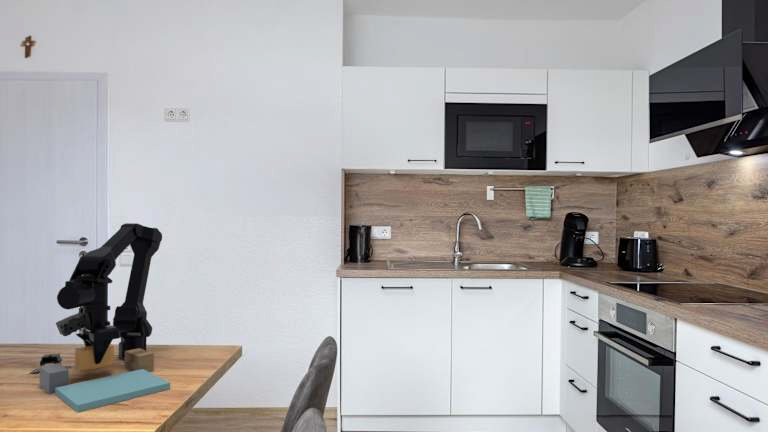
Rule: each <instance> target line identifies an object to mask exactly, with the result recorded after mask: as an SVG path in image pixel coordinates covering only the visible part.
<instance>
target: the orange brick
mask: <svg viewBox="0 0 768 432" xmlns="http://www.w3.org/2000/svg"><path fill="white" fill-rule="evenodd" d="M114 364H115V345H114V344H112V343H110V345H109V347H108V349H107V351H106V353H105V355H104V357H103V359H102V360H101V362H100V364H95V361H94V355H93V348H92V346H87V347H85V346H82V347H76V348H75V349H74V368H75V369H76V370H77V371H79V372H82V371H88V370H93V369H99V368H104V367H108V366H114Z"/></svg>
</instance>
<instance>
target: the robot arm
mask: <svg viewBox="0 0 768 432" xmlns="http://www.w3.org/2000/svg"><path fill="white" fill-rule="evenodd" d="M162 241H163V234H162V232H161V231H160V230H159V229H158V228H157V227H149V226H145V225H142V224H139V223H138V222H137V223H131V222H130V223H129V222H126V223H123V224H121V226H120V228H119V229H118V230H117V231H116V232H115V233H114V234H113V235H112V236H111V237H110V238H109V239H107V241H105V243H104V244H102V245H101V247H99V248H96V249H93V250H90V251H88V252H87V253H85V254H83V255H82V256H80V258H79V260H78V262H77V264H76V266H75V268H74V270H73V272H72V274H71V276H70V278H69V280H67V281H65V282H64V284H65V286H63V287H62V288H61V289H60V290H58V293H57V295H56V299H57V303H58V306H59V307H61V308H62V309H64V310H73V309H76V308H78V312H77V313H75V314H72V315H69V316H67V317H65V318H63V319H61V320H58V321H57V322H55V326H56V327H57V330H58V332H59V334H60V335H62V336H63V337H68V336H70V335H72V333H75V336H76V337H78V338H79V339H81V340H82V341H83V344H84V347H87V346H92V348H93V355H94V361H95V364H100V362H101V360H102V359H103V357H104V355H105V353H106V351H107V349H108V347H109V345H110V344H112V341H113V340H117V339H120V341H119V343H118V355H117V356H118V358H119V359H122V360H124V361H125V351H128V350H133V349H138V348H140V349H143V350H146V351H147V338H148V337H150V336H151V335H152V332H153V326H152V325H151V324H150V322H149V321H148V319H147V317H148V316H147V315H148V313H147V310H146V307H145V305H144V299H145V293H146V288H147V283H148V278H149V272H150V267H151V263H152V262H151V261H152V258H153V256H154V255H155V254H156V253H157V252H158V251H159V249H160V246H161V243H162ZM129 246H130V248H131V251H132V253H133V259H132V263H131V268H130V274H129V279H128V284H127V288H126V289H127V290H126V294H125V299H124V301H123V303H122V304H121V305H119V306H118V305H117V306H116V307H115V311H114V316H113V318H112V324H111V321H109V320H108V317H109V316H108V315H109V311H110V310H111V305H108V301H109V296H108V295H109V284H112V283H113V280H112V278H110V277H109V275H111V274H112V273H113V272H112V271H114V269H115V267H116V265H117V263H116V261H117V259H118V258H119V256H120V255H121V254H122V253H124V251H126V249H127V248H128V247H129ZM77 331H78V333H76V332H77Z"/></svg>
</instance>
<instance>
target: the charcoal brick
mask: <svg viewBox="0 0 768 432" xmlns="http://www.w3.org/2000/svg"><path fill="white" fill-rule="evenodd" d="M64 366H65V365H62V363H61V364H59V363H57V364H53V363H50V364H45V366H40V365H39V368H40V374H39V383H38V384H39V385H38V386H39V387H40V389H42V390H43V391H44V392H45V393H47V394H48V395H52V394H55V388H56V387H61V386H66V385H69V380H70V379H69V374H70V373H69V372H70V370H68V369H67V368H65V367H64Z"/></svg>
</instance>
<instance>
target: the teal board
mask: <svg viewBox="0 0 768 432" xmlns="http://www.w3.org/2000/svg"><path fill="white" fill-rule="evenodd" d="M170 389H171V382H170V381H167V380H165V379H164V378H162V377H160V376H158V375H156V374H154V373H151V372H148V371H146V370H144V369H140V370H136V371H127V372H121V373H118V374H117V373H116V374H112V375H107V376H103V377H99V378H94V379H89V380H85V381H80V382H76V383H72V384H68V385H66V386H61V387H56V388H55V393H54V394H55V395H56V396H57V397H58V398H59V399H60V400H62V401H63V402H65V404H67V405H68V406H69V407H70V408H71V409H73V410H74V411H75V412H77V413H80V412H83V411H89V410H92V409H95V408H100V407H103V406H108V405H112V404H116V403H119V402H124V401H127V400H132V399H136V398H139V397H143V396H149V395H151V394H155V393H159V392H163V391H167V390H170Z"/></svg>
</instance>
